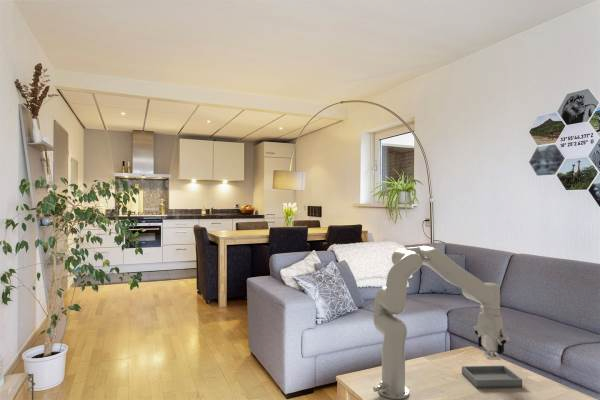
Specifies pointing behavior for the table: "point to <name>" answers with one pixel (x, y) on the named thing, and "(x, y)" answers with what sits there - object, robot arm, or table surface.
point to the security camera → (490, 347)
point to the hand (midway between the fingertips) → (490, 349)
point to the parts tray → (491, 377)
